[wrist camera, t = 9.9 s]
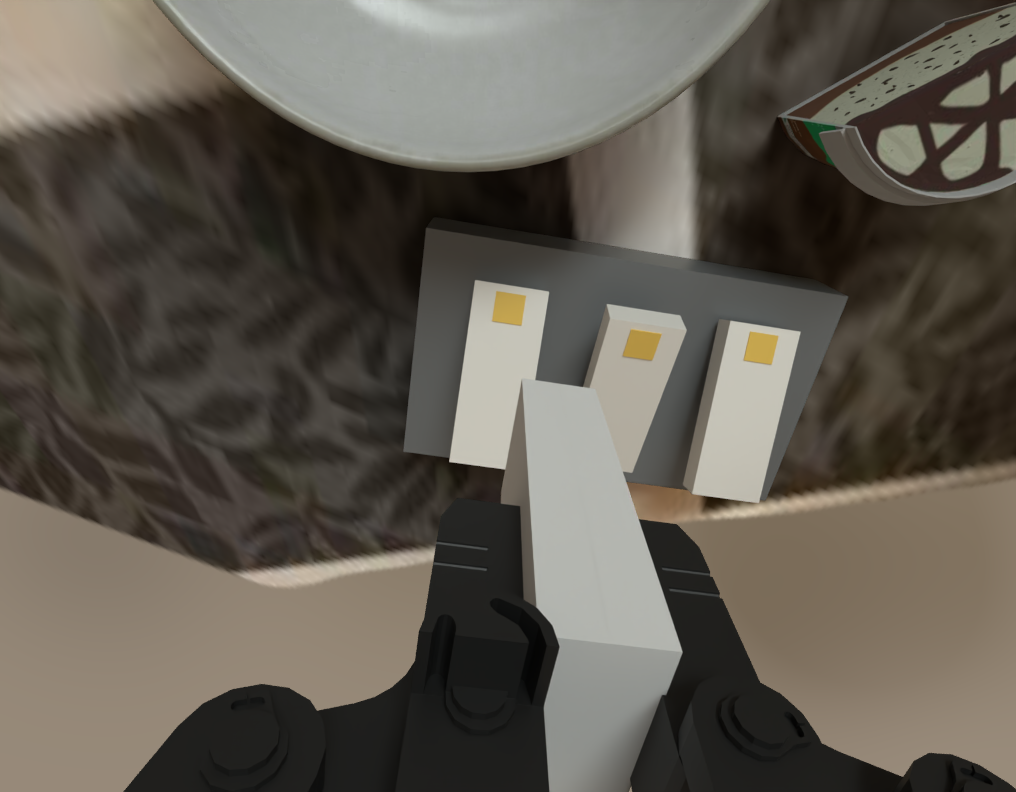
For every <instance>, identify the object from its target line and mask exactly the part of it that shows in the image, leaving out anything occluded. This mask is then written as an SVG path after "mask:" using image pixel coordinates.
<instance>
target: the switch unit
mask: <svg viewBox="0 0 1016 792" xmlns="http://www.w3.org/2000/svg"><path fill="white" fill-rule="evenodd" d="M475 280H479V281H485V282H491V283H498V284H504V285H510V286H517V287H523V288H529V289H536V290H542V291H549V297H548V303H547V309H546V316H545V322H544V328H543V334H542V341H541V347H540V353H539V359H538V366H537V372H536V378H535V380H538V381H544V382H551V383H558V384H565V385H572V386H579V387H583V385H584V382H585V378H586V375H587V371H588V368H589V364H590V361H591V357H592V354H593V350H594V347H595V343H596V340H597V336H598V333H599V329H600V326H601V322H602V319H603V315H604V312H605V308H606V305H607V304H611V305H617V306H623V307H630V308H636V309H642V310H649V311H655V312H662V313H668V314H674V315H680V316H681V318H682V320H683V323H684V325H685V327H686V330H687V331H686V334H685V337H684V339H683V342H682V344H681V347H680V350H679V352H678V355H677V357H676V360H675V363H674V365H673V368H672V370H671V373H670V376H669V378H668V381H667V383H666V386H665V389H664V391H663V394H662V396H661V399H660V402H659V404H658V407H657V409H656V412H655V415H654V417H653V420H652V422H651V425H650V428H649V430H648V433H647V436H646V438H645V441H644V443H643V446H642V449H641V451H640V454H639V456H638V459H637V462H636V464H635V467H634V469H633V472H632V473H629V472H623V474H624V477H625V480H626V482H632V483H640V484H647V485H654V486H662V487H669V488H677V489H684V490H688V489H687V488H686V487H685V486H684V485H683V482H684V477H685V472H686V468H687V463H688V459H689V454H690V450H691V445H692V440H693V436H694V431H695V427H696V422H697V418H698V413H699V408H700V404H701V399H702V395H703V390H704V385H705V381H706V376H707V372H708V367H709V363H710V358H711V353H712V349H713V344H714V340H715V335H716V331H717V326H718V321H719V319H723V320H730V321H736V322H742V323H749V324H755V325H761V326H768V327H774V328H780V329H787V330H793V331H799V332H800V337H799V341H798V345H797V349H796V353H795V357H794V361H793V365H792V369H791V373H790V377H789V382H788V386H787V390H786V394H785V398H784V402H783V406H782V410H781V414H780V418H779V422H778V427H777V431H776V435H775V439H774V443H773V447H772V451H771V455H770V459H769V463H768V467H767V472H766V476H765V480H764V484H763V488H762V492H761V496H760V500H766V498H767V495H768V493H769V490H770V488H771V485H772V483H773V481H774V478H775V476H776V473H777V471H778V468H779V466H780V463H781V461H782V459H783V456H784V454H785V451H786V449H787V446H788V444H789V441H790V439H791V436H792V434H793V432H794V429H795V427H796V424H797V422H798V419H799V417H800V414H801V412H802V410H803V407H804V405H805V402H806V400H807V397H808V395H809V392H810V390H811V387H812V385H813V383H814V380H815V378H816V375H817V373H818V370H819V368H820V365H821V363H822V360H823V358H824V356H825V353H826V351H827V348H828V346H829V343H830V341H831V338H832V336H833V334H834V331H835V329H836V326H837V324H838V321H839V319H840V316H841V314H842V311H843V309H844V307H845V304H846V302H847V299H848V296H846V295H844V294H842V293H841V292H839V291H837V290H835V289H833V288H831V287H829V286H827V285H825V284H823V283H821V282H819V281H817V280H815V279H809V278H803V277H797V276H791V275H784V274H778V273H772V272H766V271H760V270H754V269H748V268H742V267H736V266H730V265H724V264H718V263H712V262H705V261H699V260H693V259H687V258H681V257H675V256H669V255H663V254H657V253H651V252H645V251H639V250H632V249H626V248H620V247H614V246H608V245H602V244H596V243H590V242H584V241H578V240H572V239H566V238H559V237H553V236H547V235H541V234H535V233H529V232H523V231H517V230H511V229H505V228H499V227H493V226H486V225H480V224H474V223H468V222H462V221H456V220H450V219H444V218H438V217H434V218H433V219H432V220H431V222H430V223H429V225H428V226H427V227H426V234H425V244H424V254H423V264H422V274H421V283H420V293H419V303H418V313H417V323H416V332H415V342H414V352H413V362H412V372H411V382H410V391H409V401H408V411H407V421H406V431H405V441H404V450H403V452H410V453H418V454H425V455H432V456H440V457H447V458H450V453H451V446H452V439H453V432H454V425H455V418H456V411H457V404H458V397H459V390H460V383H461V376H462V369H463V362H464V355H465V348H466V341H467V334H468V326H469V319H470V312H471V305H472V298H473V291H474V284H475Z"/></svg>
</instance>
